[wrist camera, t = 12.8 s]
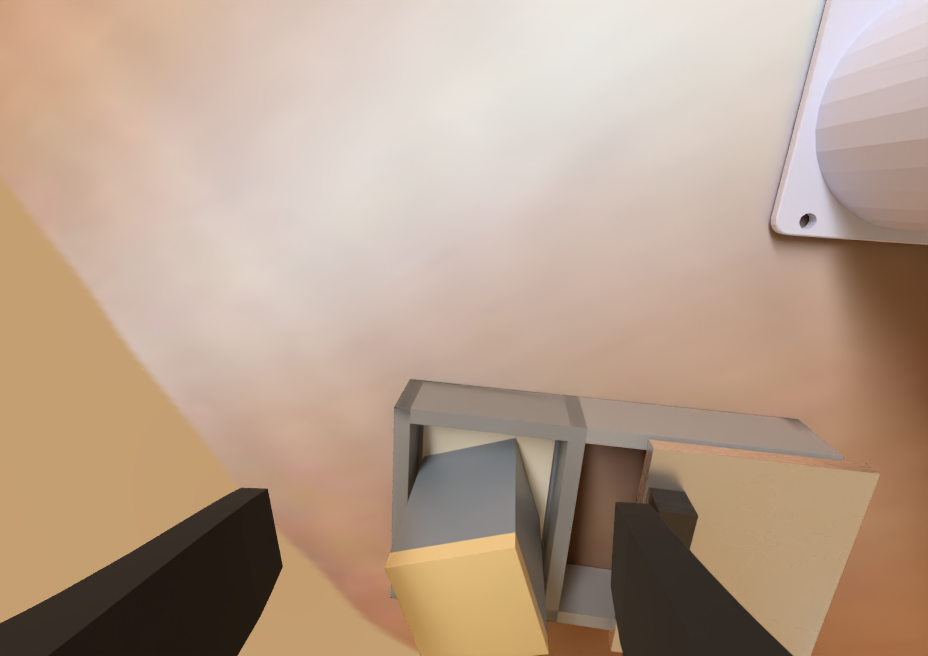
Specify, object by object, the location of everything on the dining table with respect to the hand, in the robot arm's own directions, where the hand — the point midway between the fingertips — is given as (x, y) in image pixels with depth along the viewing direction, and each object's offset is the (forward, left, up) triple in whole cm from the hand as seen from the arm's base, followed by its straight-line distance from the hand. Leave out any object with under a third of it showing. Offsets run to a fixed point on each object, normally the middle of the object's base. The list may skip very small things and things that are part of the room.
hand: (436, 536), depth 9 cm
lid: (-10, +6, -7) cm, 13 cm away
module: (-1, +5, -9) cm, 10 cm away
